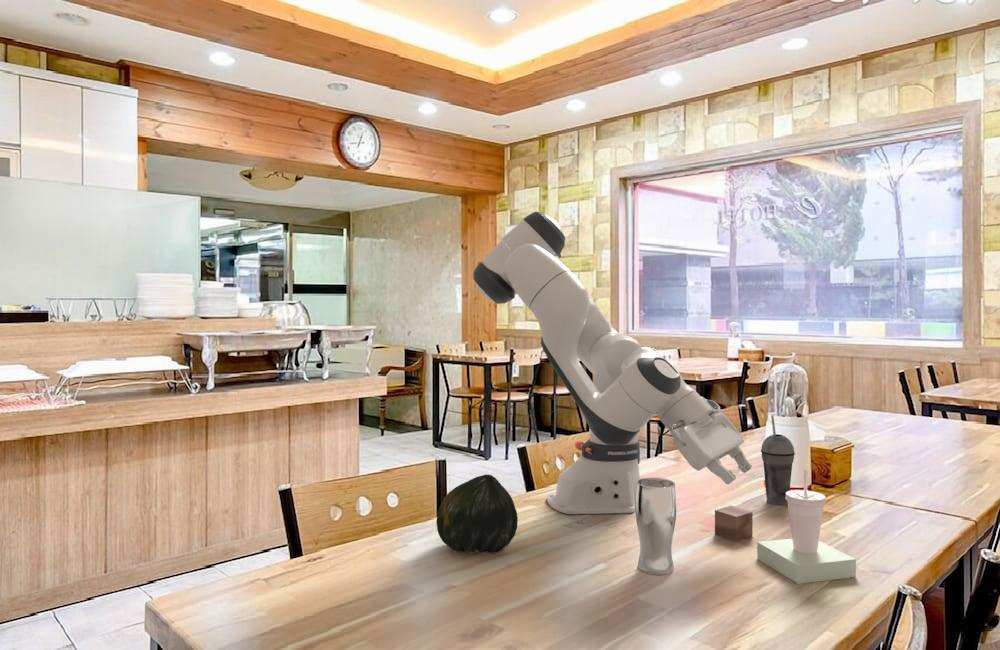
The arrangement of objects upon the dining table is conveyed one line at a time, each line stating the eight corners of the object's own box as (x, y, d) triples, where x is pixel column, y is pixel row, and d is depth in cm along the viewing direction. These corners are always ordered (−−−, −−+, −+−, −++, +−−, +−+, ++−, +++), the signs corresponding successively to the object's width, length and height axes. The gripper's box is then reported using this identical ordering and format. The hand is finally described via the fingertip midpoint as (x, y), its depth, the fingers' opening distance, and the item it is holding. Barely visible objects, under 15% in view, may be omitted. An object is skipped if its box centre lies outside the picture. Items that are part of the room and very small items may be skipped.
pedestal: (798, 583, 108) (798, 565, 107) (757, 558, 118) (757, 542, 118) (855, 577, 110) (855, 559, 110) (810, 552, 121) (810, 536, 121)
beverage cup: (798, 507, 147) (798, 418, 147) (763, 506, 149) (763, 417, 148) (790, 498, 154) (791, 413, 154) (757, 496, 156) (758, 412, 155)
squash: (424, 509, 131) (442, 464, 121) (494, 503, 137) (516, 459, 127) (440, 577, 121) (460, 533, 112) (514, 566, 127) (539, 524, 118)
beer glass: (653, 579, 110) (653, 490, 109) (627, 565, 116) (626, 480, 115) (685, 571, 113) (685, 484, 112) (657, 557, 119) (657, 475, 119)
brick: (736, 542, 127) (736, 516, 126) (714, 535, 131) (714, 510, 131) (752, 537, 129) (752, 512, 129) (730, 530, 134) (731, 505, 133)
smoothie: (825, 546, 116) (825, 467, 115) (826, 559, 110) (827, 476, 109) (785, 541, 118) (785, 463, 118) (784, 554, 112) (784, 472, 112)
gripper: (678, 415, 117) (734, 478, 111) (718, 400, 133) (769, 454, 127) (655, 437, 120) (708, 499, 114) (697, 420, 136) (745, 474, 130)
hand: (740, 475), depth 121 cm, fingers open, 8 cm apart
